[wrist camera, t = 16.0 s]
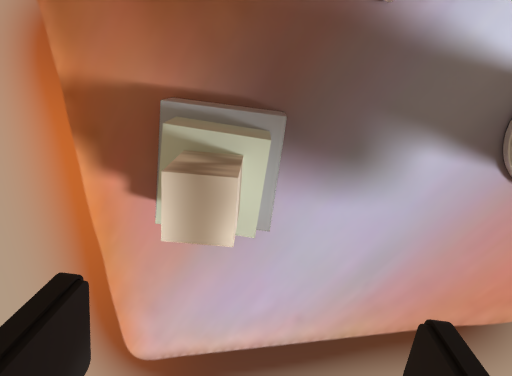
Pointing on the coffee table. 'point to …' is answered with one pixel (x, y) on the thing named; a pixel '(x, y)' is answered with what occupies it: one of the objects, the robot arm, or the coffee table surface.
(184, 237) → the ash block
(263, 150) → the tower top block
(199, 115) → the tower bottom block
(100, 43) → the coffee table surface
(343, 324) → the coffee table surface
